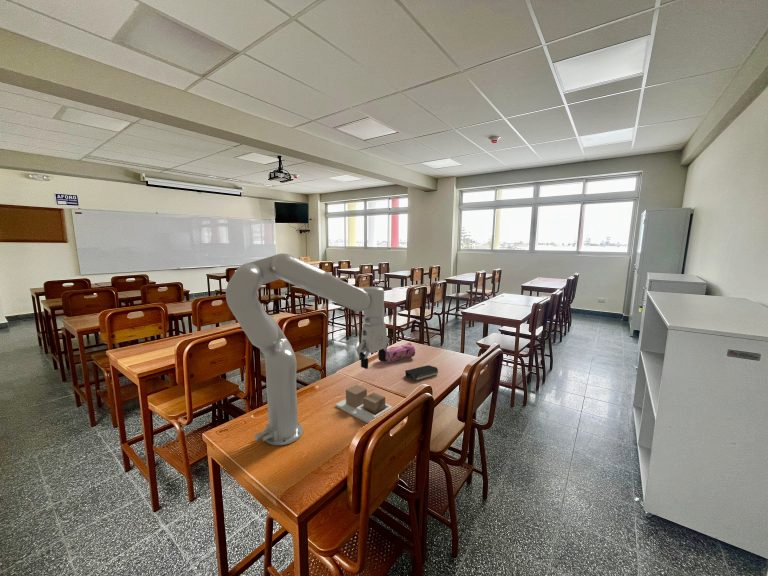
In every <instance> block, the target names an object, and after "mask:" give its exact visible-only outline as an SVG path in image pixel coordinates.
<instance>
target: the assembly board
mask: <svg viewBox="0 0 768 576" xmlns="http://www.w3.org/2000/svg"><path fill="white" fill-rule="evenodd" d="M367 392H368V390H367V388H365V387H363V386H361V385H358V384H355V385H353V386H351V387H349V388H346V389H345V399H343V400H341V401H339V402H337V403H335V407H336V408H337V409H340V410H341V411H344V412H345V413H347V414H349V415H352V416H353V417H355V418H357V419H360V420H361V421H363V422H364V423H366V424H368V423H369V422H370V421H371V420H373V419H375V418H377V417H378V416H380V415H381V414H383V413H385V412H386V411H388V410H389V409H391V408H392V407H393V406H392V405H390V404H388V403H386V402H385V409H384V410H383V411H381V412H380V413H378V414H376V415H374V414H372V413H370V412H368V411H366V410H364V409H363V398H364V397H366V396H368V393H367ZM393 408H394V407H393Z"/></svg>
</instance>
